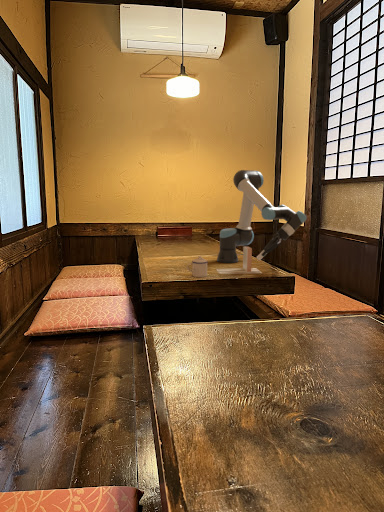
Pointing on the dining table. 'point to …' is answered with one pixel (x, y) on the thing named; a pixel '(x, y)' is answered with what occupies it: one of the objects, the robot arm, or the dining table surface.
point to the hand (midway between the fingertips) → (257, 258)
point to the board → (237, 271)
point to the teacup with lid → (199, 267)
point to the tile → (247, 258)
